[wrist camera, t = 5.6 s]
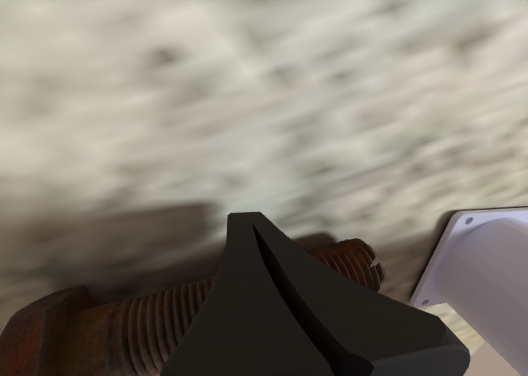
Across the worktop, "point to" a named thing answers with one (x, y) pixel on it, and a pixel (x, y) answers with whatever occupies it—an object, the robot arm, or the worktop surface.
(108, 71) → the worktop surface
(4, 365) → the bolt
